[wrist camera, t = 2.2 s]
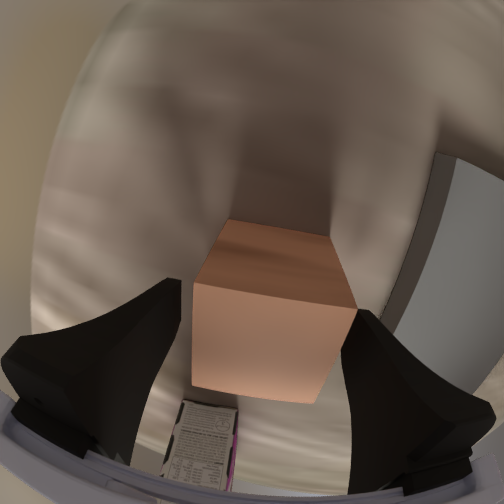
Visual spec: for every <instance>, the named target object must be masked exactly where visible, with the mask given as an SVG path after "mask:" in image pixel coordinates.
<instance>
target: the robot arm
mask: <svg viewBox="0 0 504 504" xmlns="http://www.w3.org/2000/svg"><path fill="white" fill-rule="evenodd" d="M180 322H181V280H178V279H173V278H168V277H167V278H166V279H164V280H162V281H161V282H159V283H158V284H156V285H155V286H153V287H152V288H150V289H148V290H147V291H145V292H144V293H142V294H141V295H139V296H137V297H136V298H134V299H132V300H131V301H129V302H127V303H125V304H123V305H122V306H120V307H118V308H116V309H114V310H112V311H110V312H108V313H106V314H104V315H102V316H99V317H97V318H95V319H92V320H90V321H87V322H84V323H81V324H78V325H75V326H72V327H69V328H65V329H61V330H57V331H52V332H48V333H42V334H34V335H27V336H20V337H19V338H18V339H17V340H16V341H15V343H14V344H13V345H12V346H11V347H10V348H9V350H8V351H7V352H6V353H5V354H4V355H3V356H2V358H1V366H2V370H3V372H4V373H5V375H6V377H7V379H8V380H9V382H10V383H11V385H12V386H13V388H14V390H15V391H16V393H17V394H18V396H19V397H20V398H19V400H18V401H17V402H15V401H14V400H13V399H12V398H11V397H9V396H8V395H7V394H5V393H4V392H3V391H1V390H0V464H1V465H2V466H3V467H5V468H6V469H7V470H8V471H10V472H11V473H12V474H13V475H15V476H16V477H17V478H19V479H20V480H21V481H23V482H24V483H25V484H27V485H28V486H29V487H31V488H32V489H34V490H35V491H37V492H38V493H40V494H41V495H43V496H44V497H46V498H47V499H49V500H51V501H52V502H54V503H55V504H158V503H157V500H156V498H159V499H162V500H166V501H169V502H173V503H177V504H497V503H499V502H500V501H502V500H503V499H504V485H503V482H502V478H501V475H500V472H499V468H498V465H497V462H496V459H495V456H494V453H490V454H488V455H486V456H483V457H480V458H478V459H476V460H474V461H472V462H471V463H470V461H469V457H470V456H471V455H472V453H473V452H472V449H471V447H472V446H473V445H474V444H475V443H476V442H477V441H479V440H480V439H481V438H482V437H483V436H484V435H485V434H486V433H487V432H488V431H489V430H490V429H491V428H492V427H493V425H494V423H495V421H496V415H495V413H494V411H493V409H492V407H491V405H490V403H489V402H487V401H485V400H483V399H480V398H478V397H476V396H473V395H471V394H469V393H467V392H465V391H463V390H461V389H459V388H458V387H456V386H454V385H453V384H451V383H449V382H448V381H446V380H445V379H443V378H442V377H440V376H439V375H437V374H436V373H435V372H433V371H432V370H431V369H429V368H428V367H427V366H426V365H424V364H423V363H422V362H421V361H420V360H418V359H417V358H416V357H415V356H414V355H413V354H412V353H411V352H410V351H409V350H408V349H407V348H406V347H405V346H404V345H403V344H402V343H401V342H400V341H399V340H398V339H397V338H396V337H395V336H394V335H393V334H392V333H391V332H390V331H389V330H388V329H387V328H386V327H385V326H384V325H383V324H382V323H381V321H380V320H379V319H378V318H377V317H376V316H375V315H374V314H373V313H371V312H370V311H369V310H364V309H358V310H357V313H356V315H355V318H354V320H353V322H352V325H351V327H350V329H349V332H348V334H347V336H346V339H345V341H344V343H343V345H342V347H341V363H342V369H343V374H344V380H345V385H346V390H347V395H348V400H349V405H350V412H351V428H352V454H351V470H350V479H349V487H348V494H347V495H339V496H323V497H284V496H266V495H254V494H244V493H236V492H229V491H223V490H217V489H211V488H206V487H201V486H196V485H191V484H187V483H183V482H179V481H175V480H171V479H167V478H164V477H160V476H156V475H153V474H150V473H147V472H144V471H141V470H137V469H135V468H132V467H130V462H131V457H132V452H133V448H134V443H135V440H136V436H137V432H138V428H139V424H140V421H141V417H142V414H143V411H144V408H145V404H146V401H147V398H148V395H149V393H150V390H151V387H152V384H153V382H154V380H155V378H156V376H157V374H158V372H159V369H160V367H161V365H162V363H163V361H164V359H165V357H166V355H167V353H168V351H169V349H170V347H171V345H172V343H173V341H174V339H175V336H176V333H177V331H178V328H179V325H180ZM151 496H152V497H151ZM154 497H155V498H154Z"/></svg>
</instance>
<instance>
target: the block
mask: <svg viewBox="0 0 504 504" xmlns="http://www.w3.org/2000/svg"><path fill="white" fill-rule="evenodd" d="M357 310H358V308H357V305H356V302H355V300H354V297H353V294H352V291H351V289H350V286H349V284H348V281H347V278H346V276H345V273H344V271H343V268H342V266H341V263H340V261H339V258H338V256H337V253H336V251H335V248H334V246H333V244H332V241H331V239H330V237H328V236H323V235H317V234H312V233H306V232H301V231H295V230H290V229H284V228H278V227H273V226H267V225H261V224H255V223H249V222H243V221H237V220H230V219H228V220H227V222H226V223H225V225H224V227H223V229H222V231H221V232H220V234H219V236H218V238H217V240H216V242H215V243H214V245H213V247H212V249H211V251H210V253H209V255H208V256H207V258H206V260H205V262H204V264H203V266H202V268H201V270H200V272H199V273H198V275H197V277H196V279H195V281H194V288H193V315H192V386H197V387H201V388H206V389H211V390H216V391H221V392H226V393H232V394H237V395H244V396H250V397H257V398H264V399H271V400H280V401H289V402H300V403H312V404H313V403H314V401H315V399H316V398H317V396H318V394H319V392H320V390H321V388H322V386H323V384H324V382H325V380H326V378H327V376H328V374H329V372H330V370H331V368H332V366H333V364H334V362H335V360H336V358H337V356H338V354H339V352H340V350H341V347H342V345H343V343H344V341H345V339H346V336H347V334H348V332H349V329H350V327H351V325H352V322H353V320H354V318H355V315H356V313H357Z"/></svg>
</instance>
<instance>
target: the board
mask: <svg viewBox="0 0 504 504" xmlns="http://www.w3.org/2000/svg"><path fill="white" fill-rule="evenodd" d="M380 321H381V323H382V324H383V325H384V326H385V327H386V328H387V329H388V330H389V331H390V332H391V333H392V334H393V335H394V336H395V337H396V338H397V339H398V340H399V341H400V342H401V343H402V344H403V345H404V346H405V347H406V348H407V349H408V350H409V351H410V352H411V353H412V354H413V355H414V356H415V357H416V358H417V359H418V360H420V361H421V362H422V363H423V364H424V365H426V366H427V367H428V368H429V369H431V370H432V371H433V372H435V373H436V374H437V375H439V376H440V377H442V378H443V379H445V380H446V381H448V382H449V383H451V384H453V385H454V386H456V387H458V388H459V389H461V390H463V391H465V392H467V393H469V394H471V395H472V394H473V393H474V392H475V391H476V390H477V388H478V387H479V386H480V385H481V383H482V382H483V381H484V380H485V378H486V377H487V376H488V374H489V373H490V372H491V370H492V369H493V368H494V366H495V365H496V363H497V362H498V361H499V359H500V358H501V356H502V355H503V353H504V181H503V180H501V179H499V178H497V177H495V176H494V175H492V174H490V173H488V172H486V171H484V170H482V169H480V168H478V167H476V166H474V165H472V164H470V163H468V162H466V161H463V160H461V159H459V158H457V157H453V156H449V155H445V154H441V153H437V152H436V153H435V158H434V163H433V167H432V172H431V176H430V180H429V184H428V188H427V192H426V195H425V199H424V203H423V206H422V210H421V213H420V216H419V220H418V223H417V226H416V229H415V232H414V235H413V238H412V241H411V244H410V247H409V250H408V253H407V256H406V258H405V261H404V264H403V266H402V269H401V272H400V274H399V277H398V279H397V282H396V284H395V287H394V289H393V292H392V294H391V296H390V299H389V301H388V303H387V306H386V308H385V310H384V312H383V314H382V317H381V319H380Z"/></svg>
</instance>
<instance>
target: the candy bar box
mask: <svg viewBox="0 0 504 504" xmlns="http://www.w3.org/2000/svg"><path fill="white" fill-rule="evenodd" d="M237 427H238V409H235V408H231V407H226V406H218V405H211V404H204V403H198V402H194V401H188V400H182V403H181V406H180V410H179V413H178V416H177V419H176V422H175V425H174V428H173V432H172V435H171V438H170V442H169V445H168V448H167V451H166V455H165V458H164V462H163V465H162V468H161V471H160V475H159V476H160V477H164V478H167V479H171V480H175V481H179V482H183V483H187V484H191V485H196V486H201V487H206V488H211V489H217V490H223V491H229V492H231V489H232V482H233V474H234V466H235V457H236V444H237ZM154 498H155V497H154ZM156 500H157V503H158V504H177V503H173V502H169V501H166V500H162V499H159V498H156Z"/></svg>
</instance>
